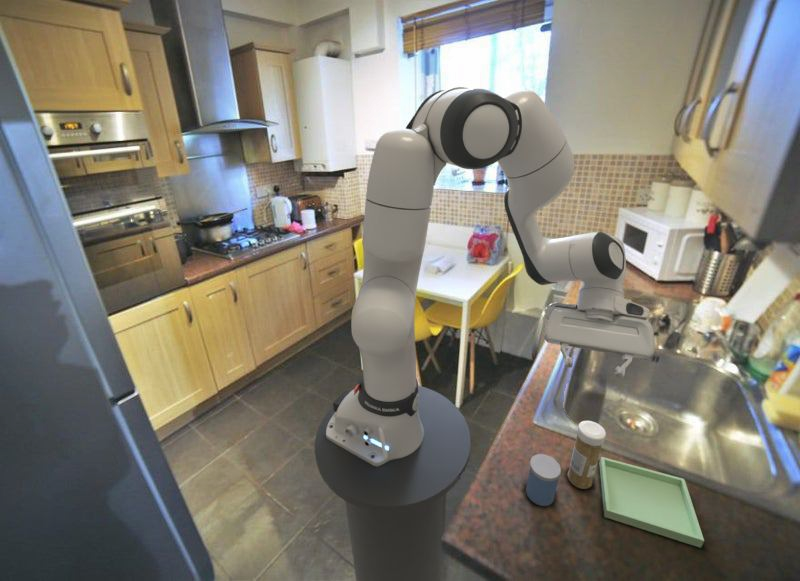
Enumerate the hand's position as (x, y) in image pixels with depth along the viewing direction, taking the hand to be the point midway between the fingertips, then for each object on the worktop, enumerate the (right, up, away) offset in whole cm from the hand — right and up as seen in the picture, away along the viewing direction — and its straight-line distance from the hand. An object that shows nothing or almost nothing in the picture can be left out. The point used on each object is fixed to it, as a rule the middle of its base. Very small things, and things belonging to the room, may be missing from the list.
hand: (593, 371), depth 75 cm
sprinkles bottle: (-4, -21, -2) cm, 22 cm away
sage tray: (+6, -23, -7) cm, 24 cm away
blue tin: (-13, -22, -5) cm, 26 cm away
